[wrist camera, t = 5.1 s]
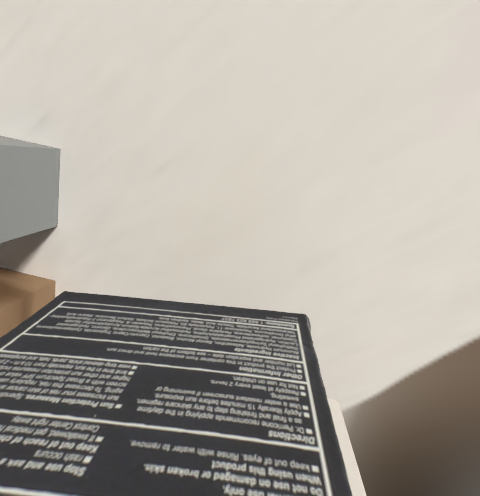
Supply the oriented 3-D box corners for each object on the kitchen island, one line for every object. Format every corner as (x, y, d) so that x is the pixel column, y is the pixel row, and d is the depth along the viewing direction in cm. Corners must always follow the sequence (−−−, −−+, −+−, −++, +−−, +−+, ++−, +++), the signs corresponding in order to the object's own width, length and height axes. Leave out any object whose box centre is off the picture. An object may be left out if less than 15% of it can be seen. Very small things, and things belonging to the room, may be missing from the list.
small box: (74, 411, 15) (-327, 932, 5) (60, 286, 13) (-627, 707, 3) (294, 437, 14) (361, 1106, 4) (311, 309, 12) (505, 946, 2)
